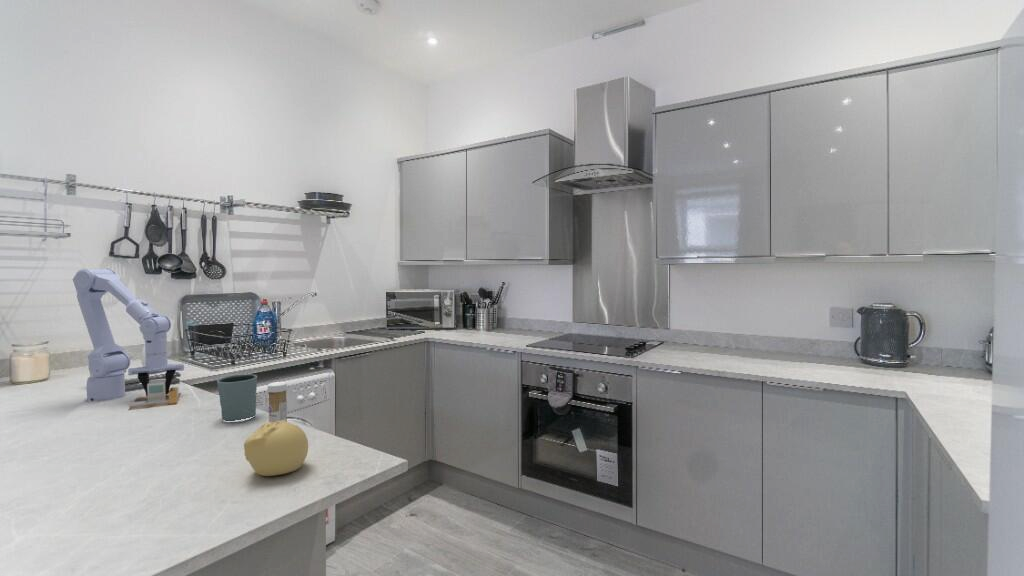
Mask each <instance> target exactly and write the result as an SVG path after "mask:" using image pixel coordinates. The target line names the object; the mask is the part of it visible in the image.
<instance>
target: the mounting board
mask: <svg viewBox="0 0 1024 576" xmlns="http://www.w3.org/2000/svg"><path fill="white" fill-rule="evenodd" d="M181 394H182V392H179V398H181ZM166 398H169V394H168V395H167V396H166ZM140 401H148V396H139V397H136V398H135V399H134V401H133V402H140ZM174 405H177V404H169V403H168V404H160V405H151V406H143V407H135V408H128V411H133V410H142V409H150V408H151V409H152V408H158V407H159V408H160V407H165V406H166V407H167V406H174Z"/></svg>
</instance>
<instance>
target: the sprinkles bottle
mask: <svg viewBox="0 0 1024 576" xmlns="http://www.w3.org/2000/svg"><path fill="white" fill-rule="evenodd" d="M287 388H288V385H287V382H286V381H275V382H271V383H267V392H268V423H269V422H271V423H272V422H278V421H282V420H286V422H287V421H288V413H287V412H288V408H287V407H288V406H287V405H288V403H287V401H288V400H287ZM287 423H288V422H287Z"/></svg>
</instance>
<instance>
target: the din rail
mask: <svg viewBox="0 0 1024 576" xmlns="http://www.w3.org/2000/svg"><path fill="white" fill-rule="evenodd" d="M179 391H180V390H179V386H173V387H170V388H169V398H166V399H157V400H148V401H140V402H134V401H133V402H130V403H129V405H128V406H129V408H135V407H143V406H151V405H160V404H168V403H169V404H176V405H177V404H178V403H179V400H180V397H179V393H180V392H179ZM129 408H128V409H129Z"/></svg>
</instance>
